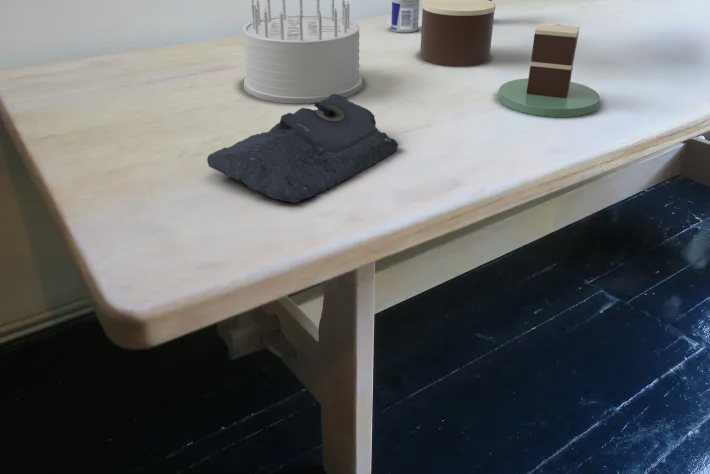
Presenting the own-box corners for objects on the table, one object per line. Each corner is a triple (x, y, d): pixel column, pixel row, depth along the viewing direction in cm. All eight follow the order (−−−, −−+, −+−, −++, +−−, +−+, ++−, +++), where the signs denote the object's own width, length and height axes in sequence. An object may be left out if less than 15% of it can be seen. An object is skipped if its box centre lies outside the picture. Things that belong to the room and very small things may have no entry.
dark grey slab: (186, 174, 73) (181, 134, 71) (311, 118, 89) (310, 83, 86) (292, 213, 66) (290, 169, 63) (409, 144, 81) (410, 107, 79)
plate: (601, 91, 99) (602, 83, 99) (595, 122, 88) (597, 114, 87) (507, 81, 104) (508, 73, 103) (490, 109, 92) (491, 101, 92)
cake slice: (568, 90, 96) (579, 26, 92) (566, 98, 93) (577, 33, 88) (530, 85, 98) (539, 23, 93) (526, 93, 95) (535, 29, 90)
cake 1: (366, 102, 95) (368, 5, 88) (239, 104, 94) (231, 6, 87) (357, 66, 110) (358, -18, 103) (248, 68, 109) (241, -17, 102)
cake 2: (495, 51, 119) (501, -1, 114) (482, 69, 109) (488, 13, 104) (429, 45, 123) (432, -6, 118) (410, 62, 113) (413, 7, 108)
